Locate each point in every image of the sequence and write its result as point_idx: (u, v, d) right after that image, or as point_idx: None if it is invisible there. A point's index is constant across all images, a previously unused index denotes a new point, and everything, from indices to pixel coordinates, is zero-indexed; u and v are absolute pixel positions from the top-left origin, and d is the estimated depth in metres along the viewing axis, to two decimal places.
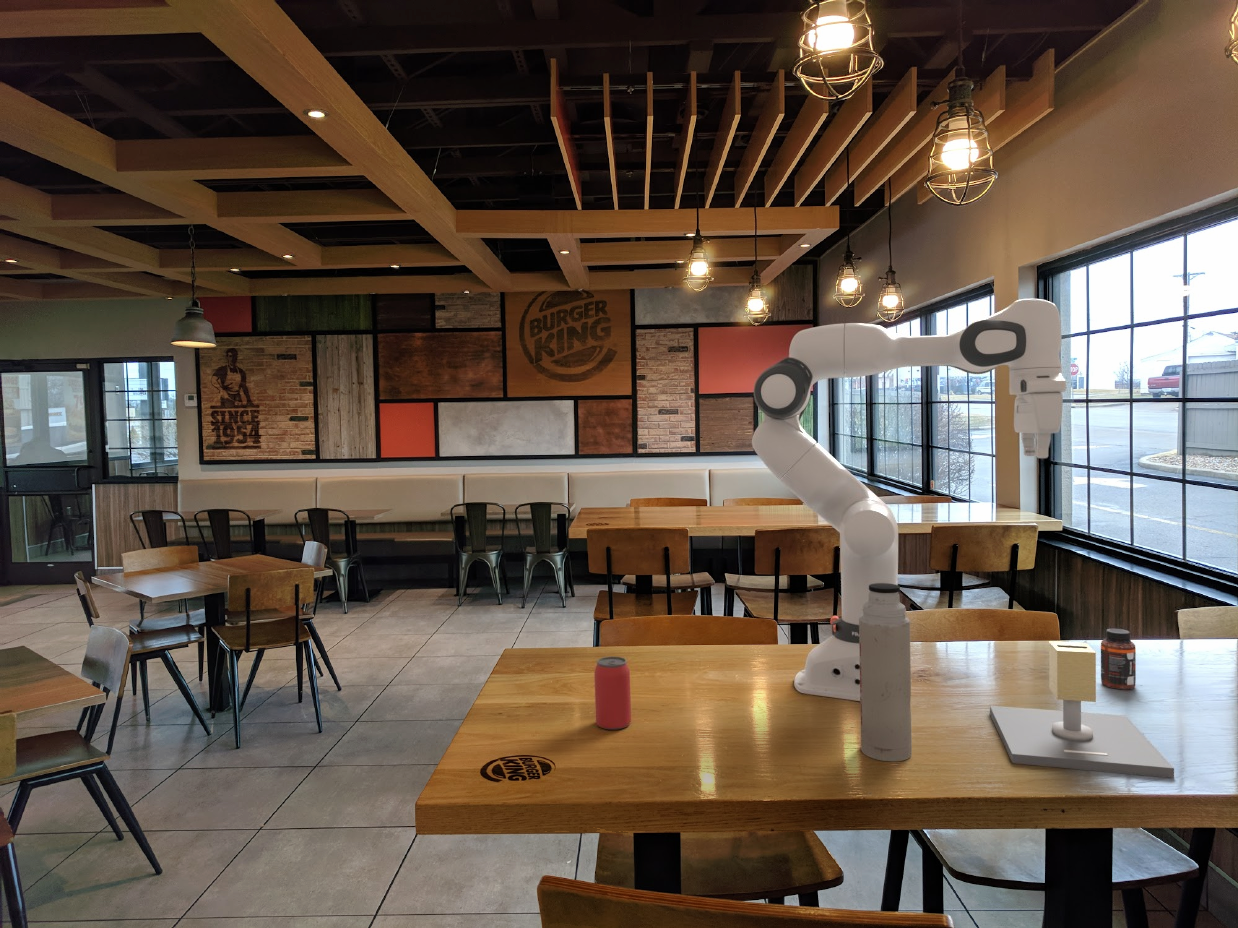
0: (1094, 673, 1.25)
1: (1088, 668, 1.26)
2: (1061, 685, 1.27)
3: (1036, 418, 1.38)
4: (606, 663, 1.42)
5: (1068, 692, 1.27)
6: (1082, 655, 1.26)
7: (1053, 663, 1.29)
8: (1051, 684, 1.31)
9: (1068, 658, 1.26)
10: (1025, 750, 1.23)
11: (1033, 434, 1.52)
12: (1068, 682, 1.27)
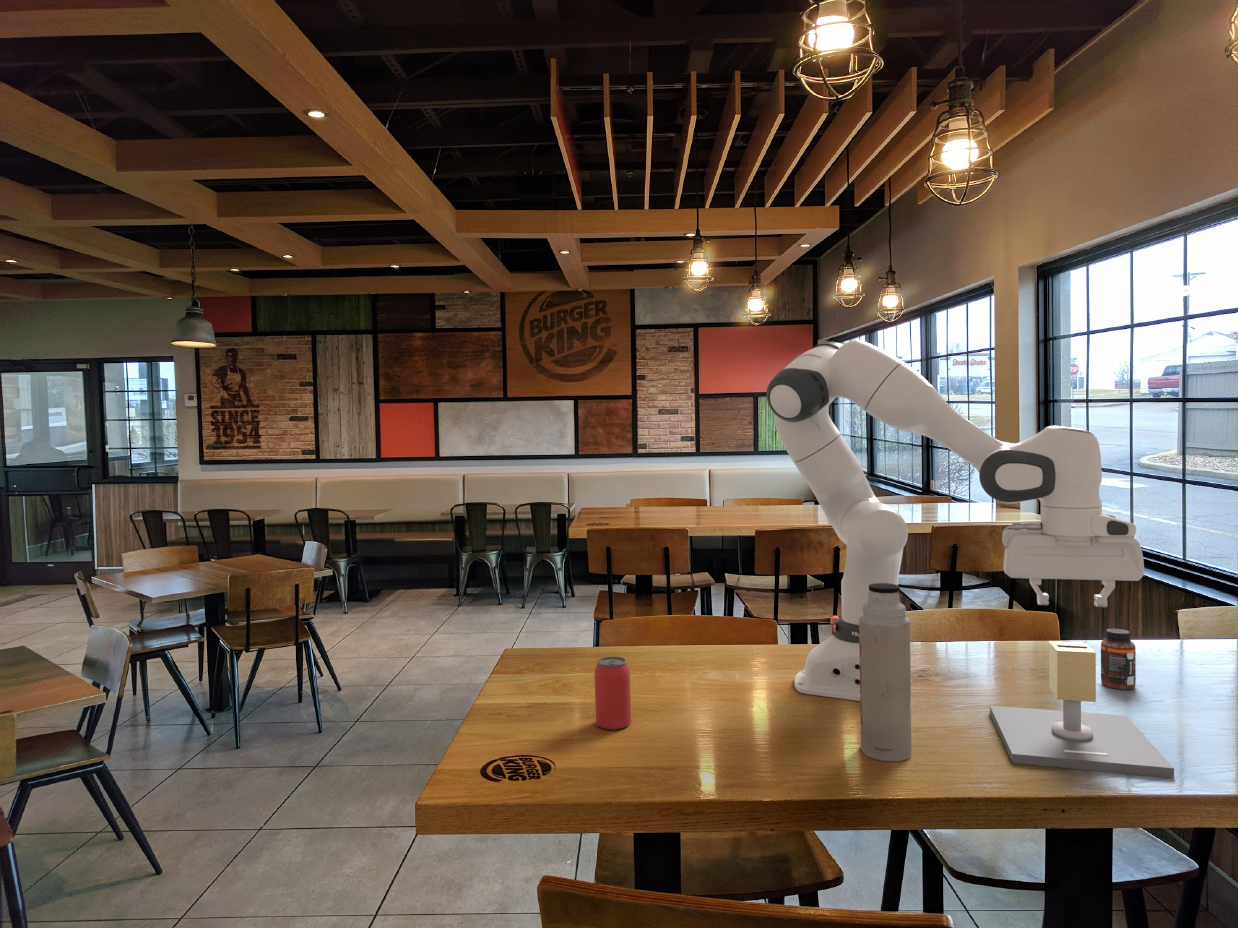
0: (1094, 673, 1.25)
1: (1088, 668, 1.26)
2: (1061, 685, 1.27)
3: (1142, 564, 1.23)
4: (606, 663, 1.42)
5: (1068, 692, 1.27)
6: (1082, 655, 1.26)
7: (1053, 663, 1.29)
8: (1051, 684, 1.31)
9: (1068, 658, 1.26)
10: (1025, 750, 1.23)
11: None
12: (1068, 682, 1.27)
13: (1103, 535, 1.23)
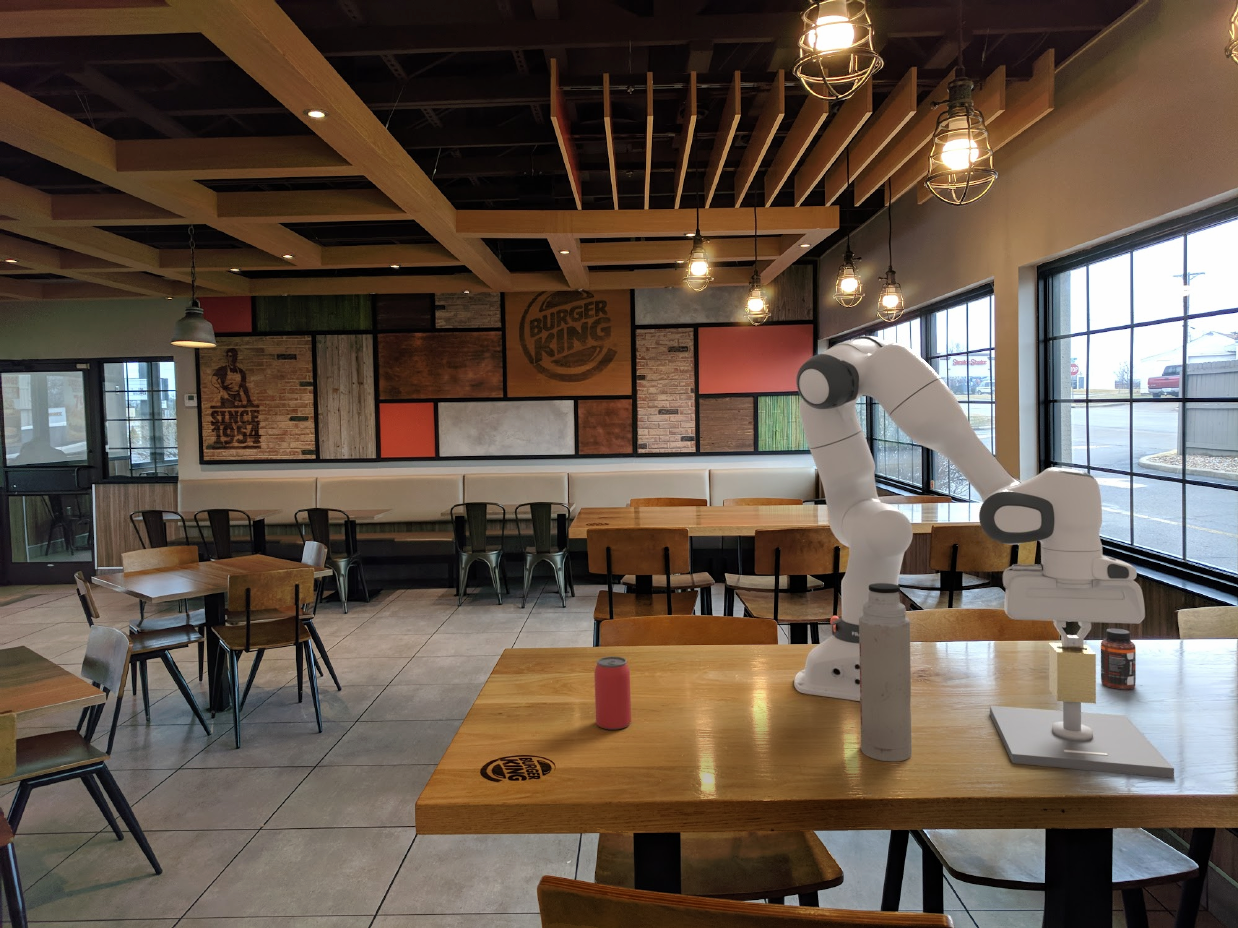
0: (1094, 675, 1.25)
1: (1088, 670, 1.26)
2: (1061, 687, 1.27)
3: (1142, 607, 1.23)
4: (606, 663, 1.42)
5: (1068, 694, 1.27)
6: (1082, 656, 1.26)
7: (1053, 664, 1.29)
8: (1051, 685, 1.31)
9: (1068, 660, 1.26)
10: (1025, 750, 1.23)
11: None
12: (1068, 684, 1.27)
13: (1104, 578, 1.24)
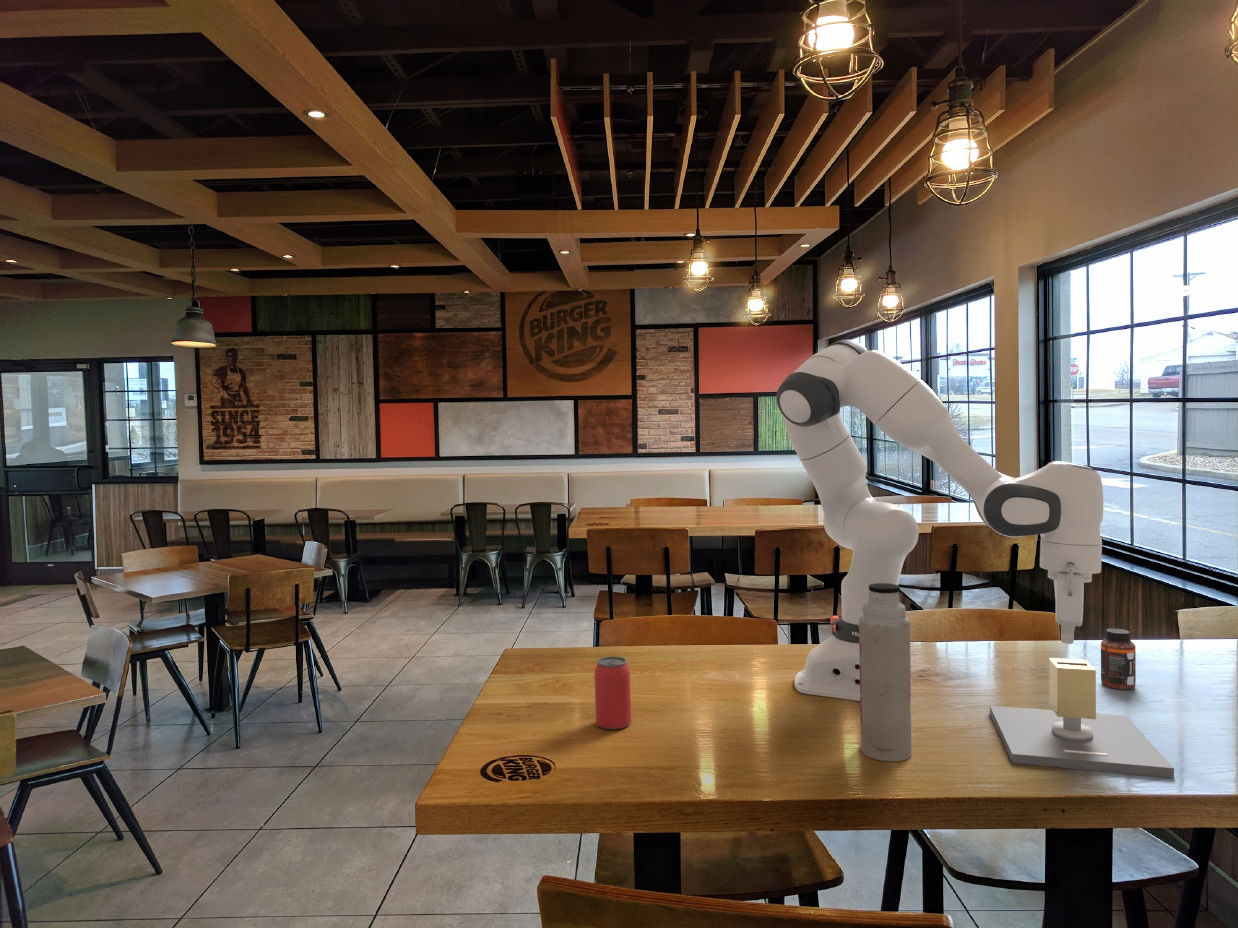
0: (1094, 691, 1.25)
1: (1088, 685, 1.26)
2: (1061, 702, 1.27)
3: None
4: (606, 663, 1.42)
5: (1068, 710, 1.27)
6: (1082, 672, 1.26)
7: (1053, 680, 1.30)
8: (1051, 701, 1.31)
9: (1068, 675, 1.27)
10: (1025, 750, 1.23)
11: None
12: (1068, 699, 1.27)
13: None
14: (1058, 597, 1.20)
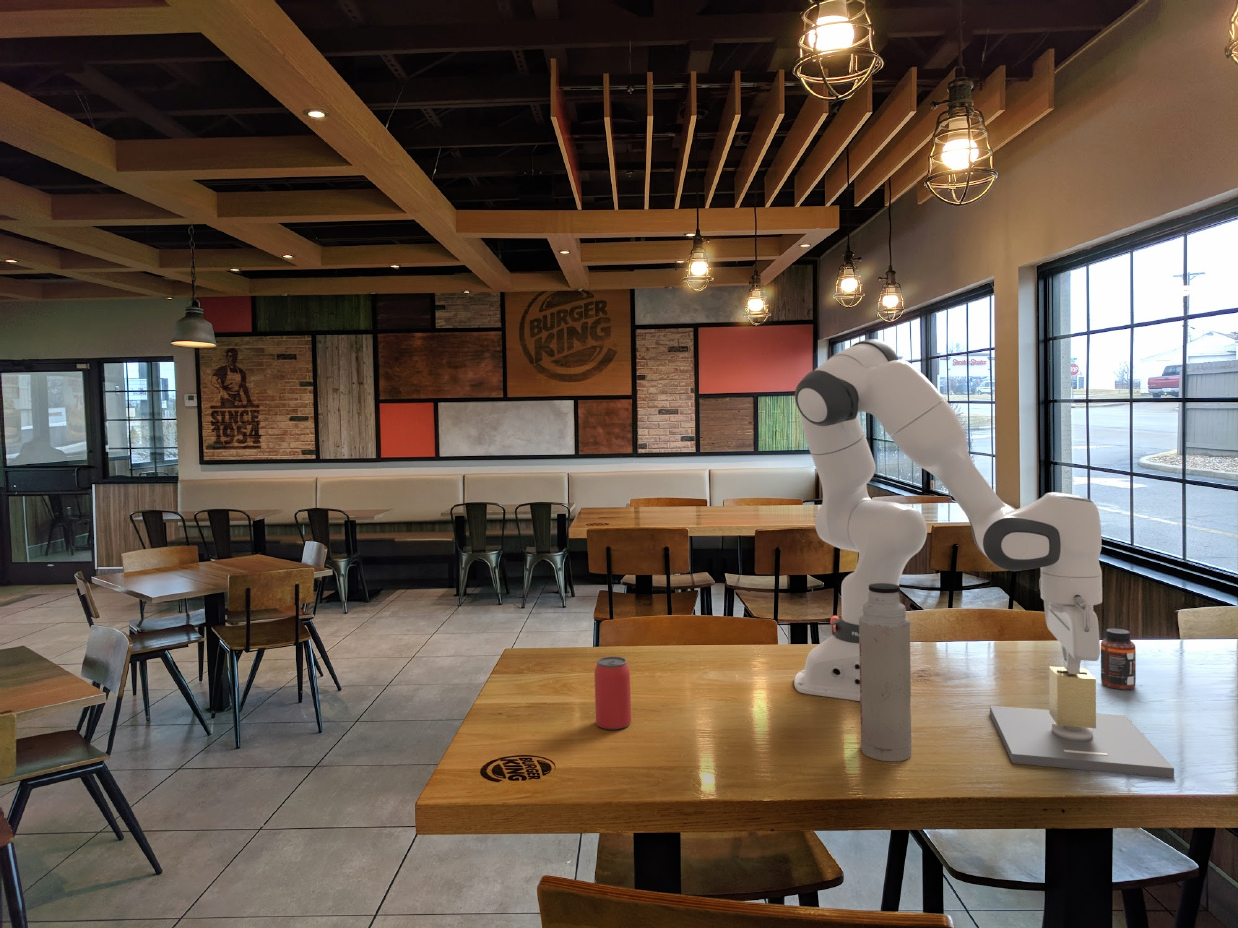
0: (1094, 700, 1.26)
1: (1088, 694, 1.26)
2: (1061, 711, 1.27)
3: None
4: (606, 663, 1.42)
5: (1068, 719, 1.27)
6: (1082, 681, 1.26)
7: (1053, 689, 1.30)
8: (1051, 709, 1.31)
9: (1068, 684, 1.27)
10: (1025, 750, 1.23)
11: None
12: (1068, 708, 1.27)
13: None
14: (1075, 633, 1.19)
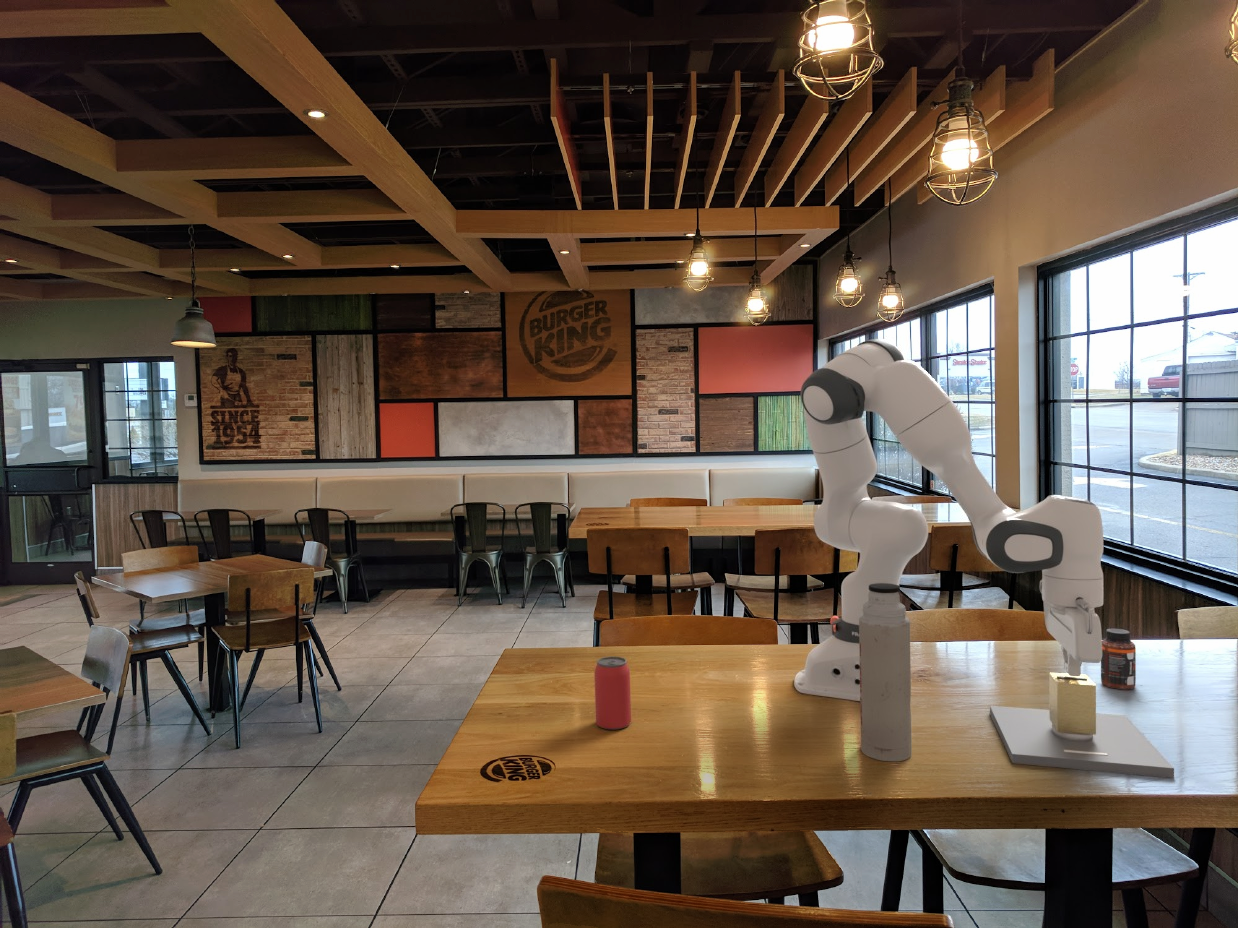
0: (1094, 706, 1.26)
1: (1088, 701, 1.26)
2: (1061, 717, 1.27)
3: None
4: (606, 663, 1.42)
5: (1068, 725, 1.27)
6: (1082, 688, 1.26)
7: (1053, 695, 1.30)
8: (1051, 715, 1.31)
9: (1068, 691, 1.27)
10: (1025, 750, 1.23)
11: None
12: (1068, 714, 1.27)
13: None
14: (1078, 635, 1.20)
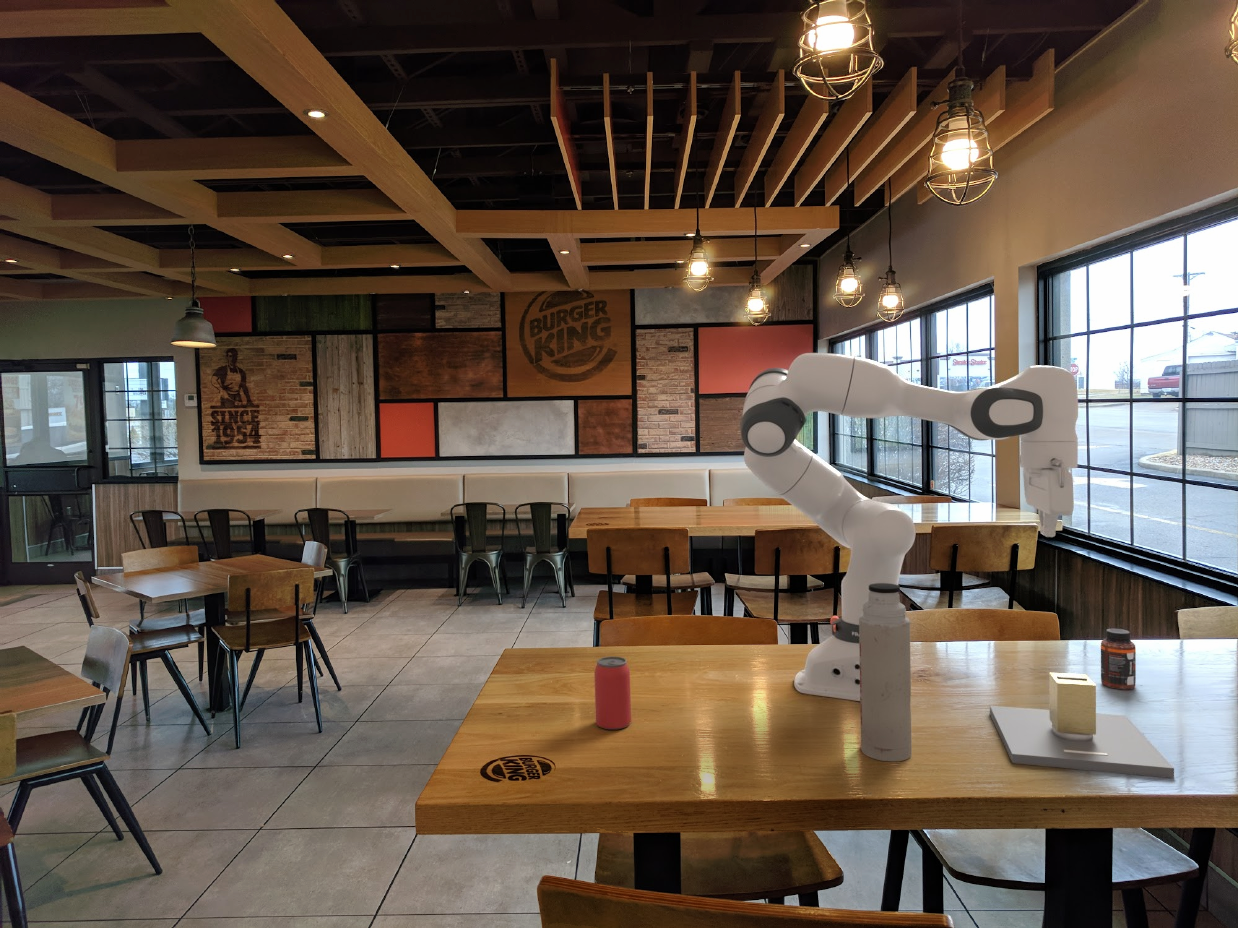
0: (1094, 706, 1.26)
1: (1088, 701, 1.26)
2: (1061, 717, 1.27)
3: None
4: (606, 663, 1.42)
5: (1068, 725, 1.27)
6: (1082, 688, 1.26)
7: (1053, 695, 1.30)
8: (1051, 715, 1.31)
9: (1068, 691, 1.27)
10: (1025, 750, 1.23)
11: None
12: (1068, 714, 1.27)
13: None
14: (1051, 489, 1.27)
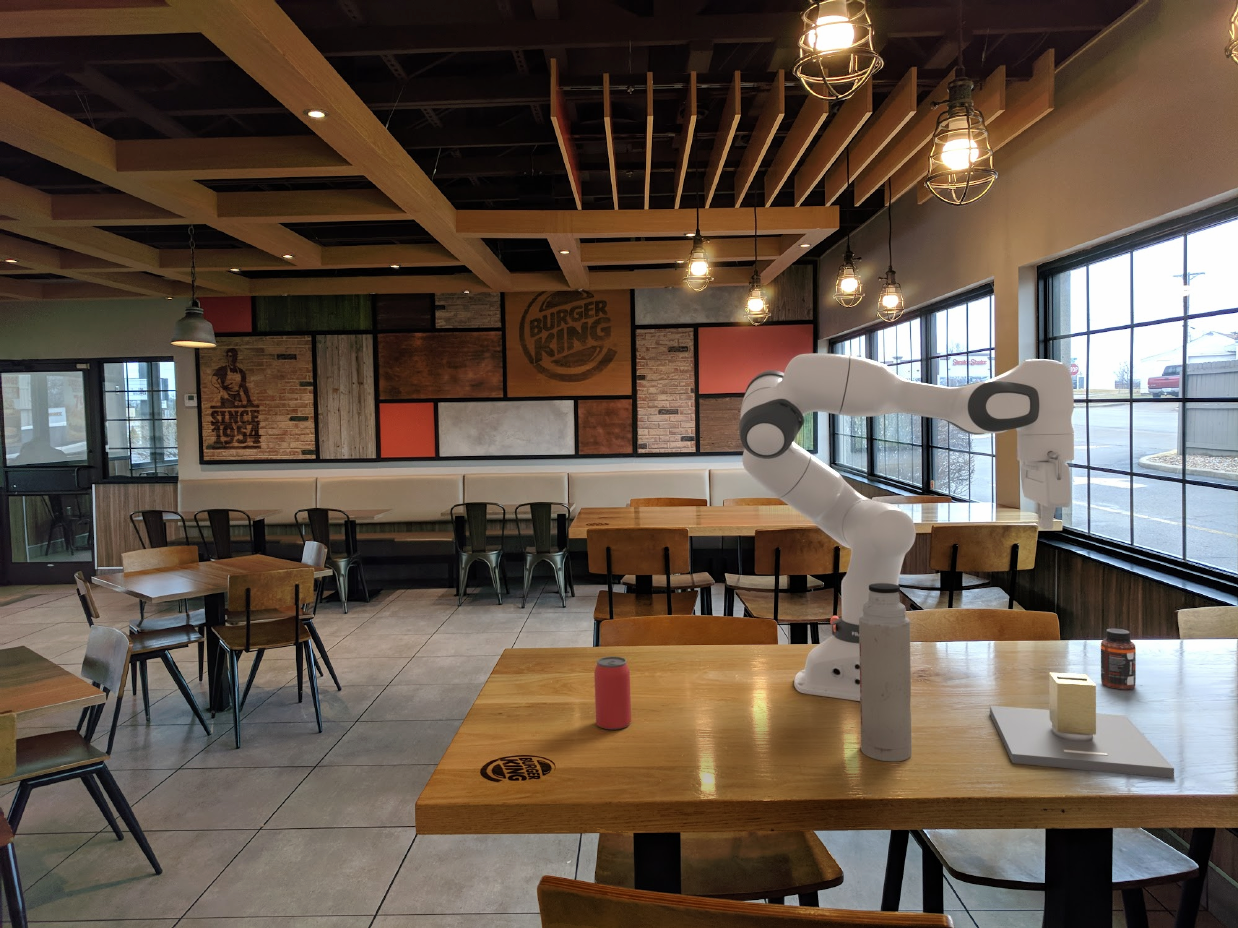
0: (1094, 706, 1.26)
1: (1088, 701, 1.26)
2: (1061, 717, 1.27)
3: None
4: (606, 663, 1.42)
5: (1068, 725, 1.27)
6: (1082, 688, 1.26)
7: (1053, 695, 1.30)
8: (1051, 715, 1.31)
9: (1068, 691, 1.27)
10: (1025, 750, 1.23)
11: None
12: (1068, 714, 1.27)
13: None
14: (1048, 482, 1.28)
